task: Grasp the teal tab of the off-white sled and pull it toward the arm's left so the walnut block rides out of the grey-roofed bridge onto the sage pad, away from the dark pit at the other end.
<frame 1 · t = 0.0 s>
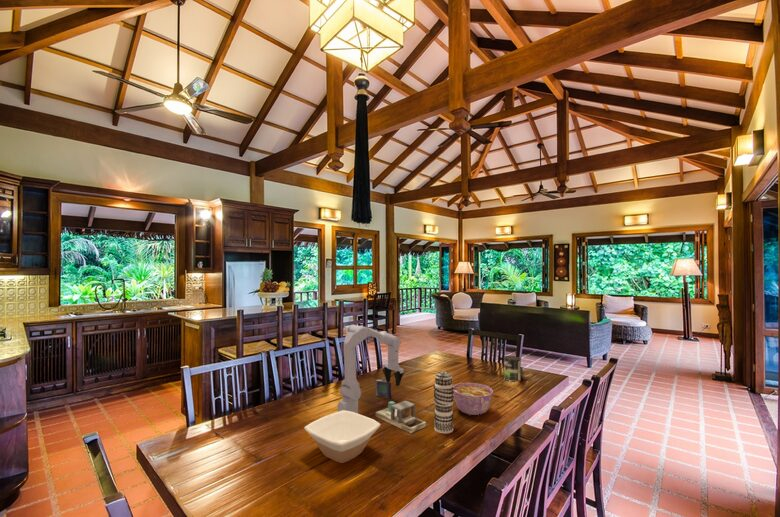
hand: (393, 383, 189), 10 cm above the table, fingers open, 7 cm apart
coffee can: (512, 379, 228), on the table
bowl of food: (472, 412, 177), on the table
white patterned tall cylinder: (443, 429, 158), on the table
bowl: (342, 452, 138), on the table
walnut block: (403, 416, 165), point 3 cm above the table, touching sled
sled: (400, 411, 166), point 5 cm above the table, slide at 0.0 cm, touching walnut block
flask: (383, 397, 198), on the table
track: (400, 421, 166), on the table
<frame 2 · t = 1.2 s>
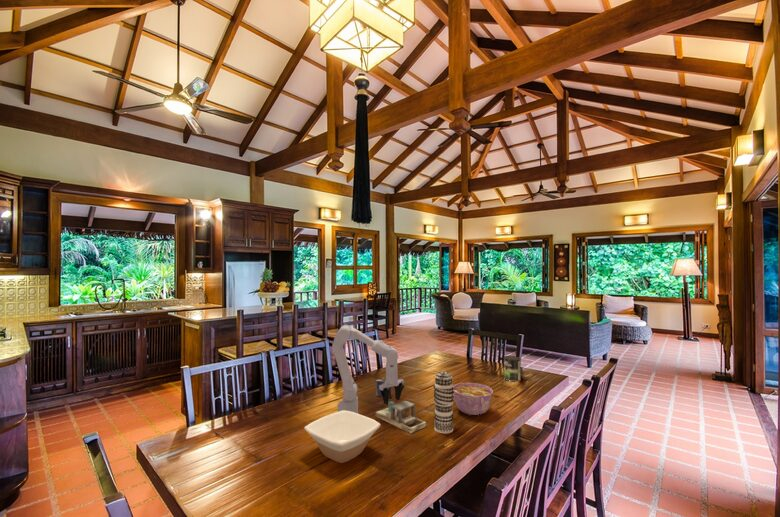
hand: (391, 401, 171), 8 cm above the table, fingers open, 7 cm apart
nothing on the table moved.
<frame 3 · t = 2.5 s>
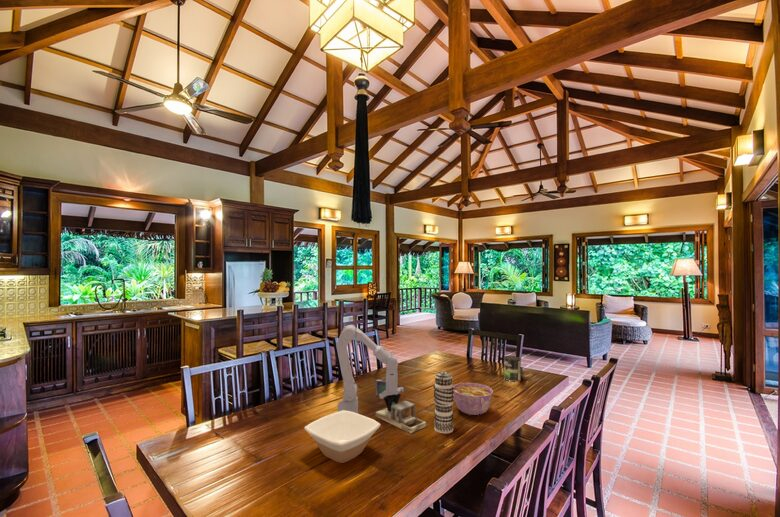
hand: (391, 409, 171), 4 cm above the table, fingers closed on sled, 2 cm apart
sled: (400, 411, 166), point 5 cm above the table, slide at 0.0 cm, touching gripper, walnut block
everything else where it was.
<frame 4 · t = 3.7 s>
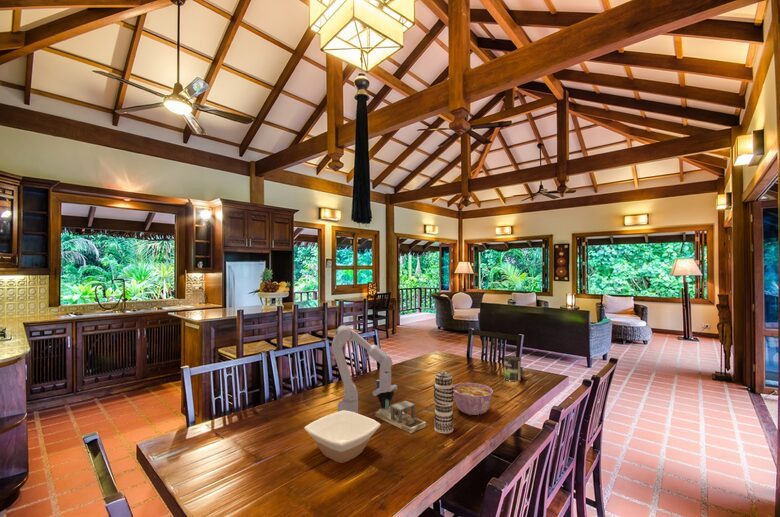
hand: (385, 407, 174), 4 cm above the table, fingers closed on sled, 2 cm apart
walnut block: (396, 413, 168), point 3 cm above the table, touching sled
sled: (393, 408, 170), point 5 cm above the table, slide at 4.6 cm, touching gripper, walnut block
everything else where it was.
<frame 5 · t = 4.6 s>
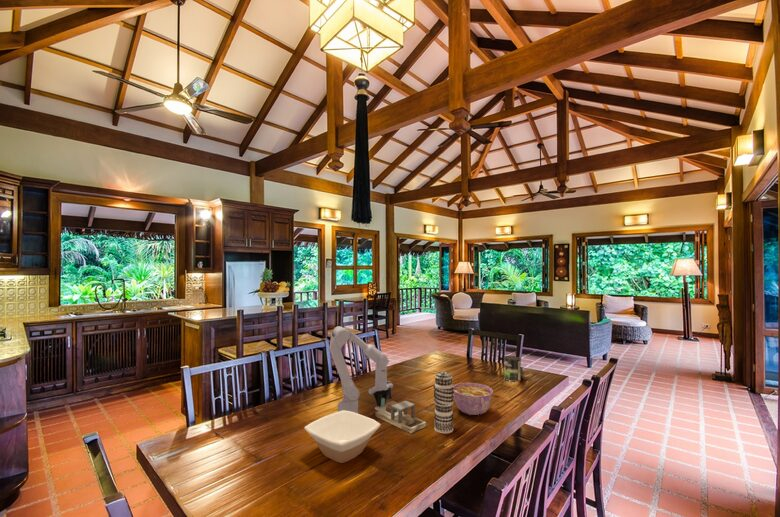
hand: (381, 405, 177), 4 cm above the table, fingers closed on sled, 2 cm apart
walnut block: (391, 411, 171), point 3 cm above the table, touching sled
sled: (389, 406, 172), point 5 cm above the table, slide at 7.7 cm, touching gripper, walnut block
everything else where it was.
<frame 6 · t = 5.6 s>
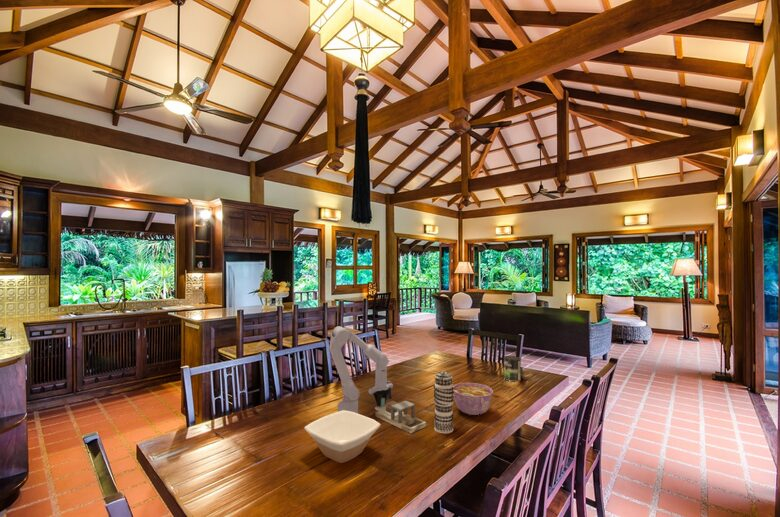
hand: (381, 405, 177), 4 cm above the table, fingers closed on sled, 2 cm apart
sled: (389, 406, 172), point 5 cm above the table, slide at 7.7 cm, touching gripper, walnut block
everything else where it was.
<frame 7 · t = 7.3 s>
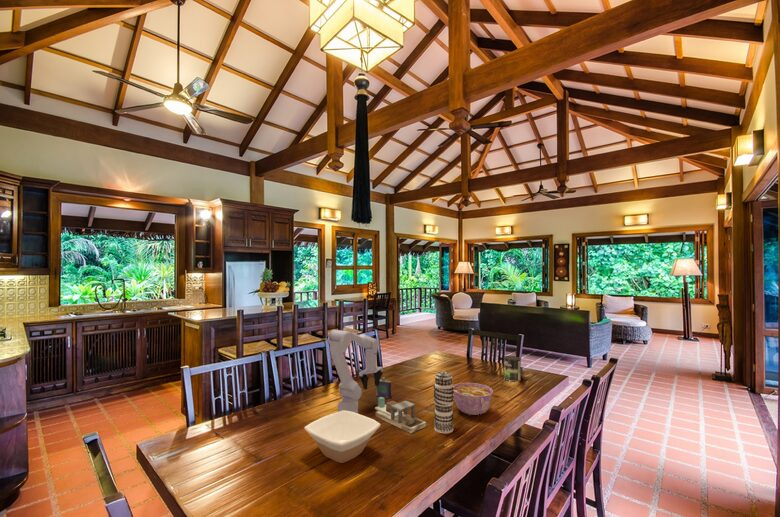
hand: (371, 387, 184), 10 cm above the table, fingers open, 7 cm apart
sled: (389, 406, 172), point 5 cm above the table, slide at 7.7 cm, touching walnut block
everything else where it was.
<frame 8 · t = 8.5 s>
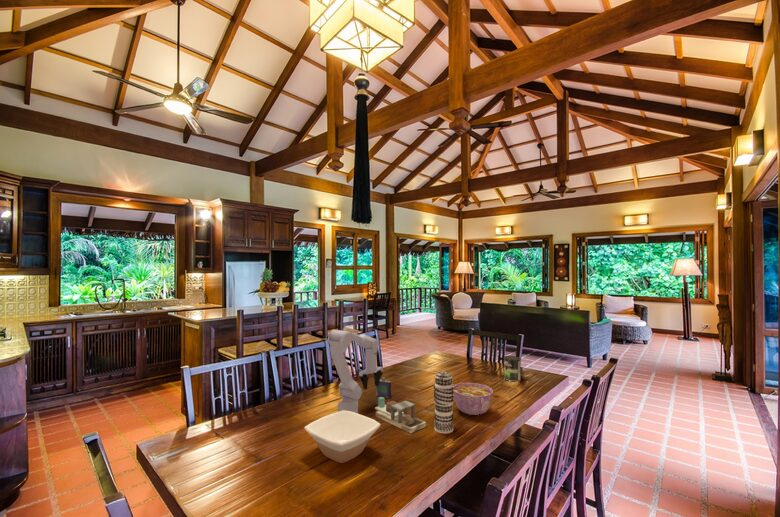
hand: (371, 387, 184), 10 cm above the table, fingers open, 7 cm apart
nothing on the table moved.
at the end: sled slide at 7.7 cm; walnut block inside the target area on the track (1.5 cm from its centre), point 3.0 cm above the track's base; walnut block tilted 0° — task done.
